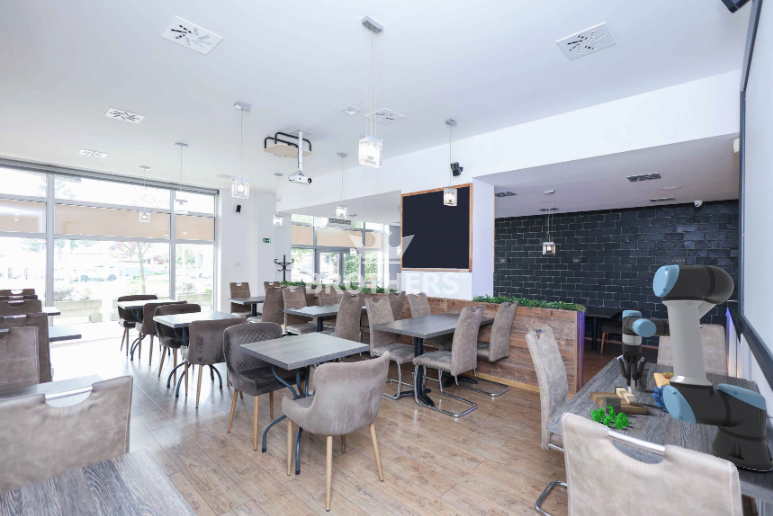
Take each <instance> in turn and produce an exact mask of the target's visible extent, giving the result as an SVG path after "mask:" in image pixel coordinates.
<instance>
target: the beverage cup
mask: <svg viewBox="0 0 773 516" xmlns="http://www.w3.org/2000/svg"><path fill="white" fill-rule="evenodd" d="M639 363H640V360H639V362H638V366H639ZM638 366H637V370H638ZM649 370H650V367H649V365H648V362H646V364H645V366H644V370H643V374H642V378H641V379H638V381H637V386H636V387H635V391H637V392H640V393H641V392H643V393H644V392H647V391H646V390H647V385H648V384H647V382H648V376H649V375H648V374H649Z"/></svg>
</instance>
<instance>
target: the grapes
mask: <svg viewBox="0 0 773 516" xmlns="http://www.w3.org/2000/svg"><path fill="white" fill-rule="evenodd" d="M664 387H665V385H661V387H660V388H661V389H660V388H659V387H658V386H655V387H654V388H653V391H654V392H653V393H651V398H652V399H653V400H655V401H654V404H655V406H656V407H657V408H660V409H661V408H662V410H663V412H665V413H669V412H668V410H667V408H666V406H665V403H664V400H663V391H664V390H663V389H664Z"/></svg>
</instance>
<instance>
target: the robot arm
mask: <svg viewBox="0 0 773 516" xmlns="http://www.w3.org/2000/svg"><path fill="white" fill-rule="evenodd" d="M652 280H653V282H652V290H653V293H654V295H655V297H658V298H661V303H662V304H663V305H664V306H666V307H667V315H668V318H645V317H643V316H642V312H641V311H639V310H632V309H626V310H623V311H622V317H621V318H622V343H621V344H622V347H621V348H622V349H621V350H622V353H621V355H619V356H617V357H615V358H616V360H617V361H618V364H619V365H618V366H619V369H620V372H621V376H622V377H623V378H624V379H625V380H626V386H627V388H628V390H627V391H628V392H630V393H631V394H633V395H636V393H635V392H636V390H635V387H636V386H637V381H638V379H641V378H642V374H643V370H644V366H645V364H646V363H648V359H647V358H645V357H643V355H642V337H644V338H650V337H652V336H653V337H669V338H670V347H671V359H672V366H673V367H672V368H673V373H674V376H673V377H672V378H671V379H670V380H669V383H670V385H668V386H665V387H664V389H663V390H664V391H663V400H664V403H665V406H666V408H667V410H668V412H667V413H669V416H671V418H672V419H673V420H675V421H677V422H679V423H683V424H689V425H701V426H714V427H717V429H716V432H715V433H714V436H713V439H712V441H711V443H710V453H711V454H712V455H713V457H715V456H717V457H720V458H723V459H726V460H729V461H731V462H733V463H734V464H735V465H736V466H735V467H737V465H738V466H740V467H745V468H750V469H756V470H770V469H772V468H773V456H772V454H771V451H770V448H769V445H768V443H767V412H768V409H767V408H768V407H767V400H766V398H765V397H764V396H763V395H762V394H760V393H759V392H756V391H754V390H751V389H748V388H745V387H743V386H742V387H741V386H736V385H734V384H727V383H718V385H717V386H716V389H715V388H714V385H713V383H712V382H710V381H709V380H708V379H707V375H706V365H705V359H704V348H703V339H702V329H701V323H700V322H701V321H700V320H701V318H703V316H705V315H706V314H707V313H708V312H709V311H710V310H712V309H713V308H714V307H715V306H716V305H721V304H724V303H725V302H726V301H727V300H729V298H730V297H731V296H732V294H733V293H734V290H735V285H734V280H733V278H732V277H731V275H730V274H729V273H728V272H727V271H726V270H724V269H723V268H721V267H718V266H714V265H709V264H707V265H706V264H704V265H698V264H693V265H692V264H689V265H688V264H671V265H670V264H669V265H663V266H660V267H659V268H658V269H657V271H656V272H655V274H654V277H653V279H652ZM639 360H640V363H639V366H638V362H639ZM624 361H625V363H624ZM637 366H638V370H637ZM717 457H716V458H717ZM740 467H739V468H740Z"/></svg>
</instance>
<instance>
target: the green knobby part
mask: <svg viewBox="0 0 773 516" xmlns="http://www.w3.org/2000/svg"><path fill="white" fill-rule="evenodd" d="M607 408H608V409H609V413H608V414H609V415H606V413H605V412H604V409H603V408H601V407H598V409H591V410H590V411H589V413H591V412H592V413H591V414H589V417H590V416H591V417H592V418H591V421H592V420H593V421H597V422H600V421H602V422H603V425H604V424H605V425H607V426H609V427H608V428H610V427H611V422H614V426H615V428H616V429H617V430H618V429H620V430H623V428H624V427H625V428H628V427H629V428H631V426H632V422H631V420H630V419H629V418H628V415H627V413H620V414H617V416H616V414H615V412H614V409H613V407H612V406H607ZM610 409H612V410H611V411H610ZM593 417H594V419H593ZM629 422H630V425H629ZM600 423H601V422H600Z"/></svg>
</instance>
